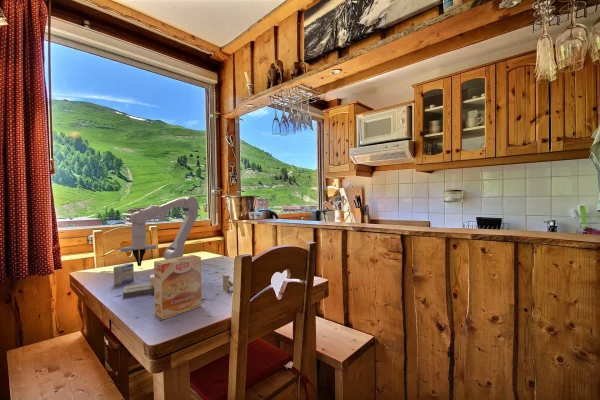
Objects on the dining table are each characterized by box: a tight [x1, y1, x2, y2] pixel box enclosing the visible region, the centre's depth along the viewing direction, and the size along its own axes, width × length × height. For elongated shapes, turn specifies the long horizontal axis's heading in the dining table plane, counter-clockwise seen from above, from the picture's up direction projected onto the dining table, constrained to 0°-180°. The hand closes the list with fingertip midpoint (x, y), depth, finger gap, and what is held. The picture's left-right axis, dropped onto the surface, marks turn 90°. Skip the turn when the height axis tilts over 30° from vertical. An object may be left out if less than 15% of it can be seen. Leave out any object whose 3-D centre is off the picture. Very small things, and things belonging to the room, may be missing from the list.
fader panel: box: [122, 282, 154, 298], centre depth 123 cm, size 15×10×2 cm, turn 120°
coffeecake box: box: [153, 254, 202, 320], centre depth 101 cm, size 15×7×20 cm, turn 139°
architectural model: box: [222, 274, 234, 294], centre depth 122 cm, size 3×7×7 cm, turn 37°
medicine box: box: [113, 262, 135, 285], centre depth 137 cm, size 8×4×9 cm, turn 168°
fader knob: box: [149, 274, 154, 286], centre depth 125 cm, size 4×5×4 cm
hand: (139, 265), depth 128 cm, fingers closed
